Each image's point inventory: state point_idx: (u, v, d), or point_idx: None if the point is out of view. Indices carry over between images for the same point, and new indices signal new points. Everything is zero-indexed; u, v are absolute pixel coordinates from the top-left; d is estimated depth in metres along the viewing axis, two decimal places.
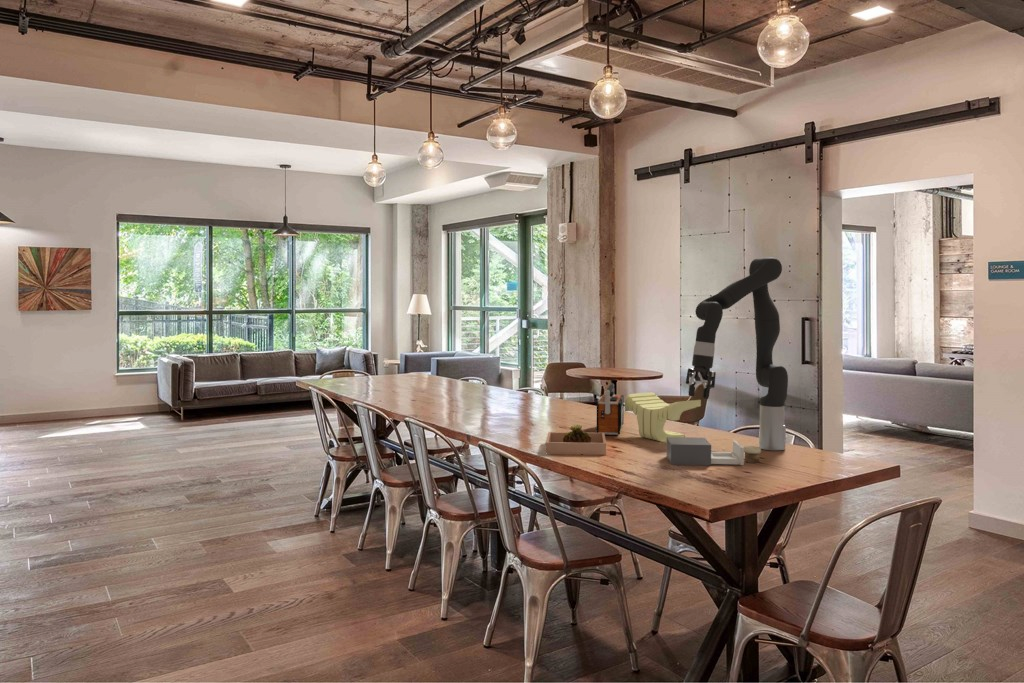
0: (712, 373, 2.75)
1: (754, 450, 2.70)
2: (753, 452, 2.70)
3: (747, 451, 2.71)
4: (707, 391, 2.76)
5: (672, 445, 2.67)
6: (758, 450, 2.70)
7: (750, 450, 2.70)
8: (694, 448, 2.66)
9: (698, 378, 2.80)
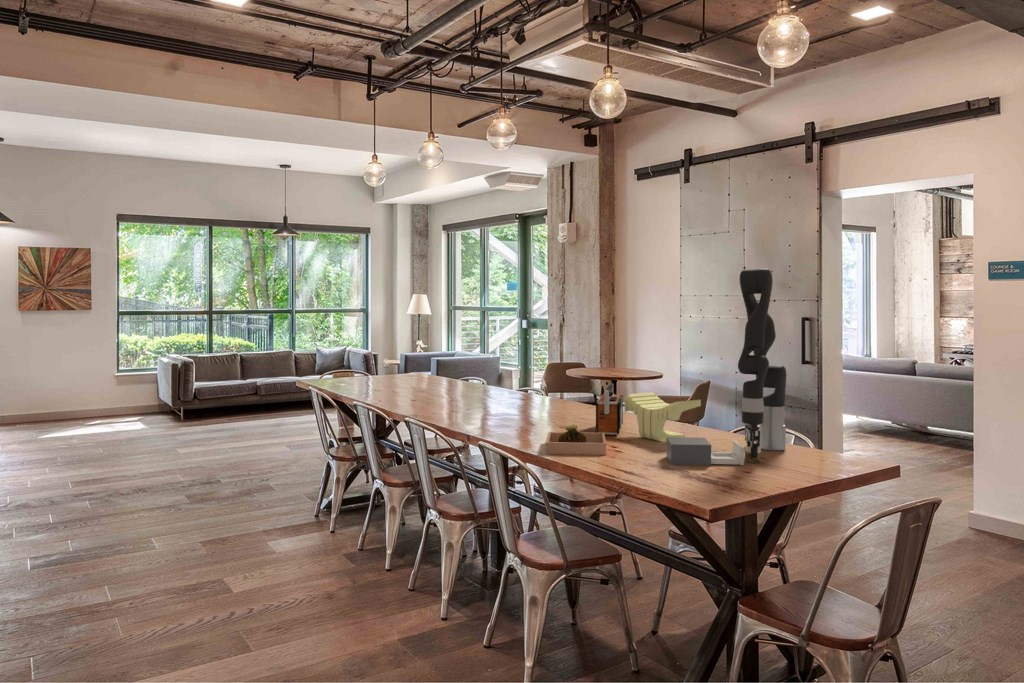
0: (756, 433, 2.66)
1: None
2: None
3: (747, 451, 2.71)
4: (754, 450, 2.68)
5: (672, 445, 2.67)
6: (758, 450, 2.70)
7: (750, 450, 2.70)
8: (694, 448, 2.66)
9: None
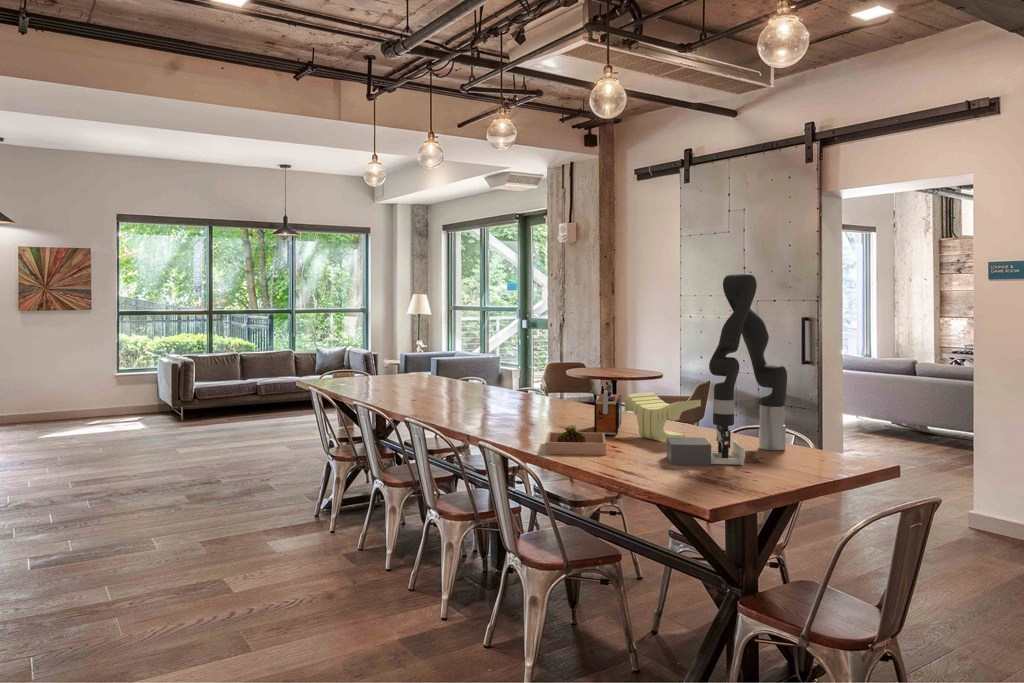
0: (726, 433, 2.66)
1: None
2: None
3: None
4: (725, 451, 2.68)
5: (672, 445, 2.67)
6: (729, 457, 2.70)
7: (721, 457, 2.70)
8: (694, 448, 2.66)
9: None
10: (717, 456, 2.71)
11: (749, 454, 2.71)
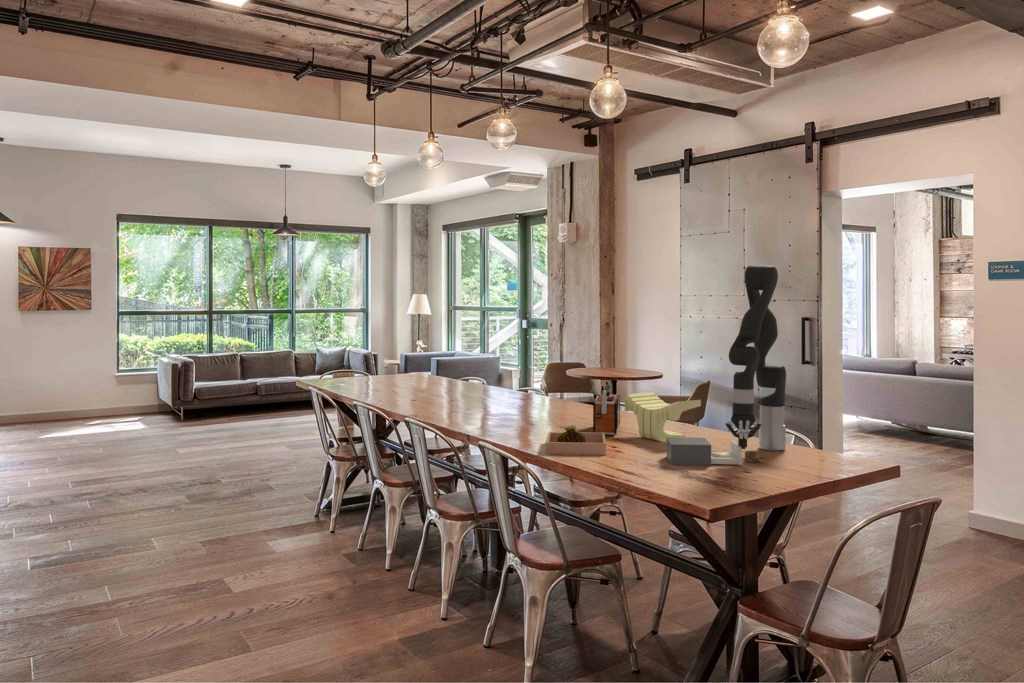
0: (726, 425, 2.72)
1: (723, 457, 2.70)
2: None
3: None
4: (738, 440, 2.72)
5: (672, 445, 2.67)
6: (727, 457, 2.70)
7: (719, 457, 2.70)
8: (694, 448, 2.66)
9: None
10: (715, 456, 2.71)
11: (749, 454, 2.71)
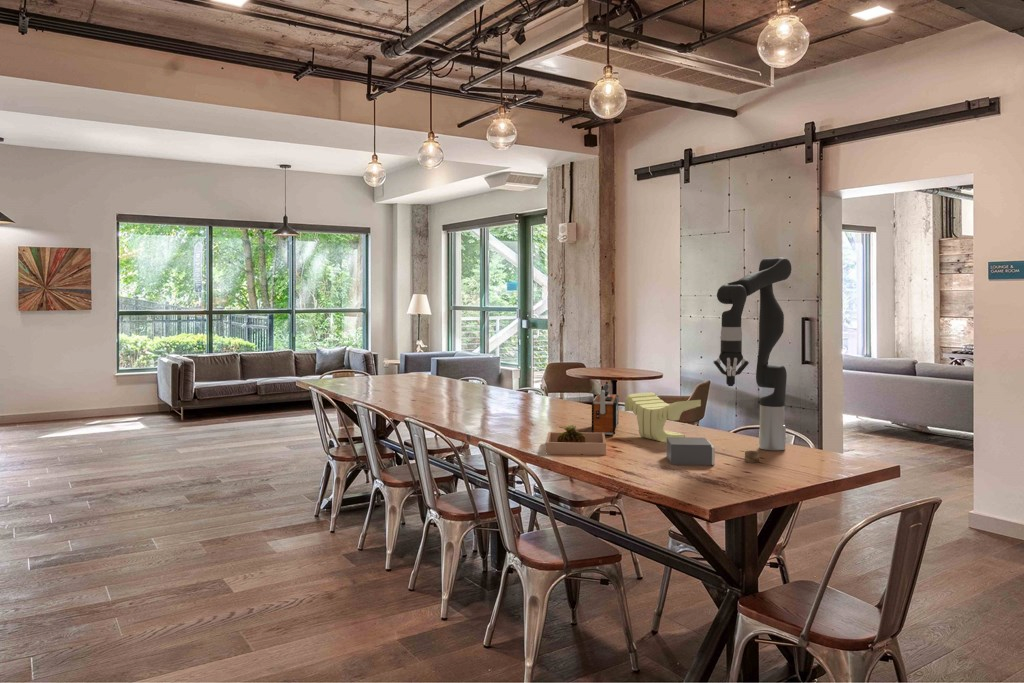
0: (714, 363, 2.77)
1: None
2: None
3: None
4: (726, 378, 2.77)
5: (672, 445, 2.67)
6: None
7: None
8: (694, 448, 2.66)
9: None
10: None
11: (749, 454, 2.71)
